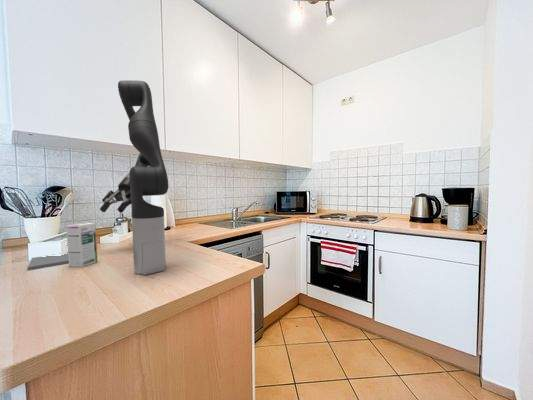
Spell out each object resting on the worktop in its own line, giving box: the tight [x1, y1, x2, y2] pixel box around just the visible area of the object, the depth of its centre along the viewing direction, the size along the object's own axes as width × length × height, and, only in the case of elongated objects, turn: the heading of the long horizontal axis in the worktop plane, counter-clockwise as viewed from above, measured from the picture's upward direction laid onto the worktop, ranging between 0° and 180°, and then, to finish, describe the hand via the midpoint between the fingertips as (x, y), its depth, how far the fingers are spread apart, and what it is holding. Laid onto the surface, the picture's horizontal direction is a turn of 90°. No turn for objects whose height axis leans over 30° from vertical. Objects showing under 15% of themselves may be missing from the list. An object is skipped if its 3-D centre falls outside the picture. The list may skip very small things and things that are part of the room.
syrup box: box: [65, 221, 99, 268], centre depth 80 cm, size 6×6×14 cm
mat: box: [27, 252, 69, 271], centre depth 84 cm, size 14×12×1 cm
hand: (110, 211), depth 90 cm, fingers open, 8 cm apart
